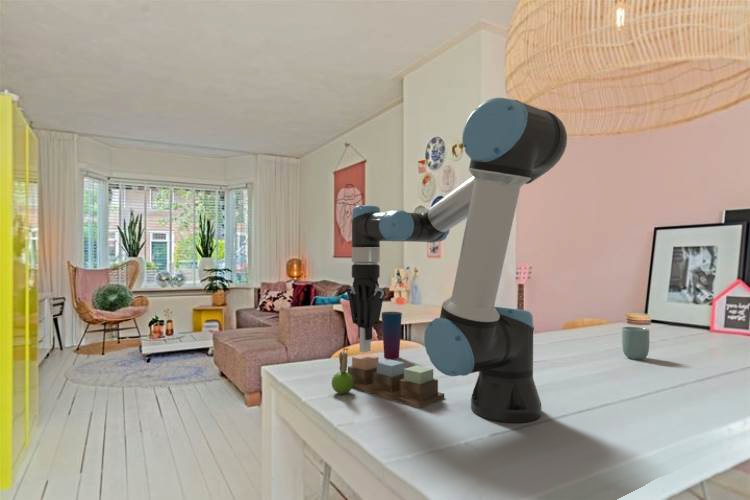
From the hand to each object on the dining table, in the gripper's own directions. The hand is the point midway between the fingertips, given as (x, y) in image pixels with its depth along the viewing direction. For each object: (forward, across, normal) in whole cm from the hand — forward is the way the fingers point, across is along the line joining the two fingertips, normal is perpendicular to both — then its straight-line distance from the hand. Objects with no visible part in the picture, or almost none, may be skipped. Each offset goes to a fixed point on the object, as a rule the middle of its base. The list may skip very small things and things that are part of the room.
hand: (365, 351), depth 121 cm
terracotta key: (+5, 0, 0) cm, 5 cm away
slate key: (+4, -9, 0) cm, 10 cm away
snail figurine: (+9, -2, +10) cm, 14 cm away
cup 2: (+9, -45, -84) cm, 96 cm away
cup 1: (+9, +15, -28) cm, 33 cm away
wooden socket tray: (+9, -9, 0) cm, 13 cm away
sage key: (+4, -18, 0) cm, 19 cm away
